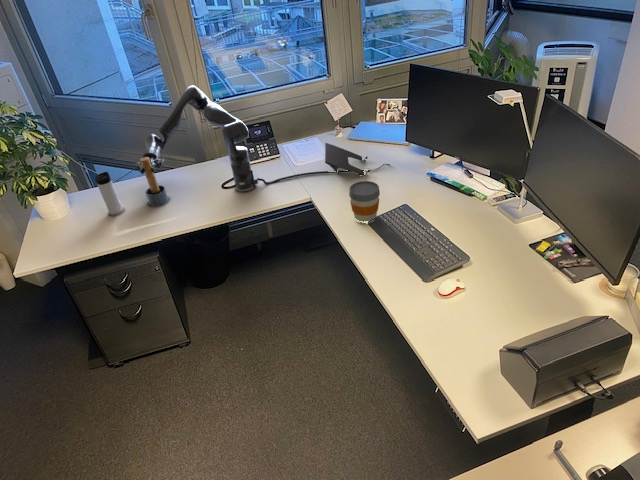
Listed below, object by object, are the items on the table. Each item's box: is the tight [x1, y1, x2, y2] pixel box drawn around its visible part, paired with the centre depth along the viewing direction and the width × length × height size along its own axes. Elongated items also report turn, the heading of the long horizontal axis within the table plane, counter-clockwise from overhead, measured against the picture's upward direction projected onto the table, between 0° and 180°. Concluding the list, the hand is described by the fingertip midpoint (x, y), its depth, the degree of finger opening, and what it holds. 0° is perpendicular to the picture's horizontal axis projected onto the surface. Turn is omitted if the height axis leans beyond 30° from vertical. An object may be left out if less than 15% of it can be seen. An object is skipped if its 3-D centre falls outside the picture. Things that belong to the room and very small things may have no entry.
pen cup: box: [144, 185, 169, 207], centre depth 225 cm, size 9×9×6 cm
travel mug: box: [94, 171, 124, 216], centre depth 216 cm, size 6×7×20 cm
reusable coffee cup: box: [348, 180, 381, 226], centre depth 193 cm, size 13×13×15 cm
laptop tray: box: [324, 142, 371, 176], centre depth 234 cm, size 23×23×9 cm
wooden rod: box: [139, 157, 160, 193], centre depth 218 cm, size 4×4×17 cm
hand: (147, 171), depth 214 cm, fingers closed on wooden rod, 4 cm apart
